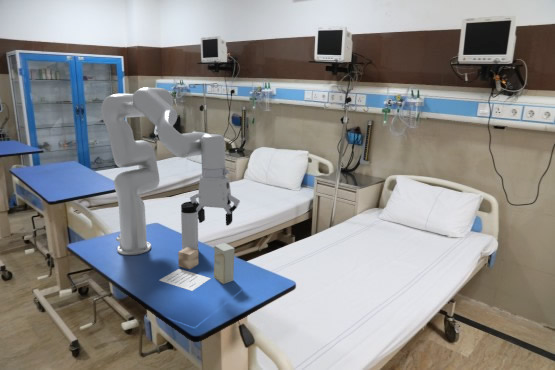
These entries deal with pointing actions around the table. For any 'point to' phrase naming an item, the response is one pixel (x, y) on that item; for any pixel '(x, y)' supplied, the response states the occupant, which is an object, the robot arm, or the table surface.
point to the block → (188, 258)
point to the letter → (185, 279)
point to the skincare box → (224, 263)
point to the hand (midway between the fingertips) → (215, 222)
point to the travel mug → (189, 225)
